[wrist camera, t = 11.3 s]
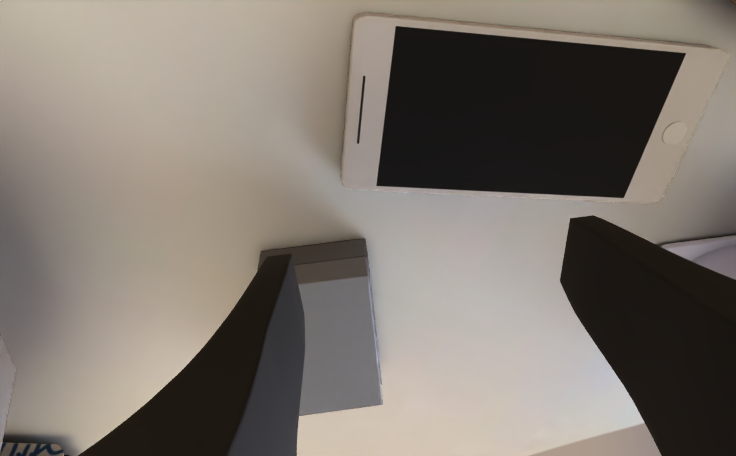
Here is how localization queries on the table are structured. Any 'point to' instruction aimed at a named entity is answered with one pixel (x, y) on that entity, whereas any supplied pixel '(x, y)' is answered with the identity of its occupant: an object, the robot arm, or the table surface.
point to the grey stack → (336, 326)
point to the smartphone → (519, 110)
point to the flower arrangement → (5, 385)
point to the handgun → (31, 449)
